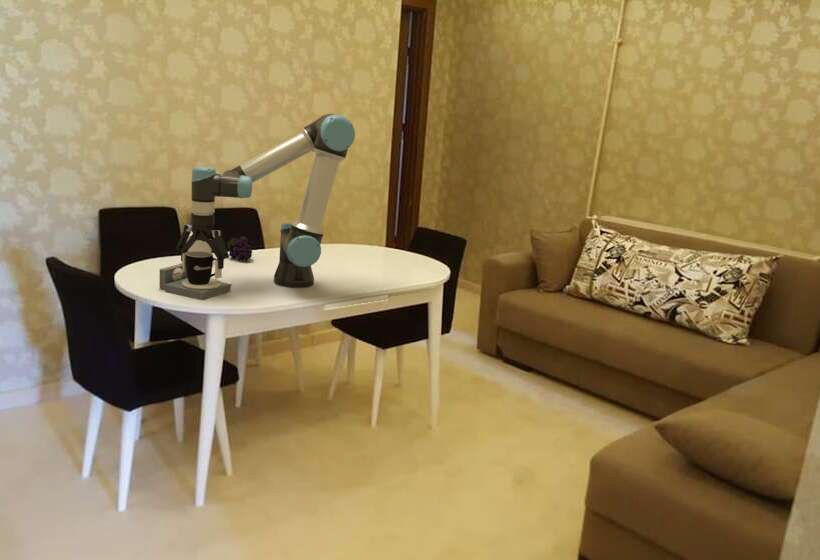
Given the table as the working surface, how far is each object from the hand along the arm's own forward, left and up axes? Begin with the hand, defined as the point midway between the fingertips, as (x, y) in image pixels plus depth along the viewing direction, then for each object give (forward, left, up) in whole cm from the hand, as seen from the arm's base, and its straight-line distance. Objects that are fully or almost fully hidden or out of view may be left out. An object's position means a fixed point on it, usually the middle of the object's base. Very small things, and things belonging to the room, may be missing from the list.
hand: (201, 274), depth 226 cm
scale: (+3, 0, -6) cm, 7 cm away
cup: (+26, -32, -6) cm, 42 cm away
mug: (-1, 0, -3) cm, 3 cm away
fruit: (+19, -49, -7) cm, 53 cm away
